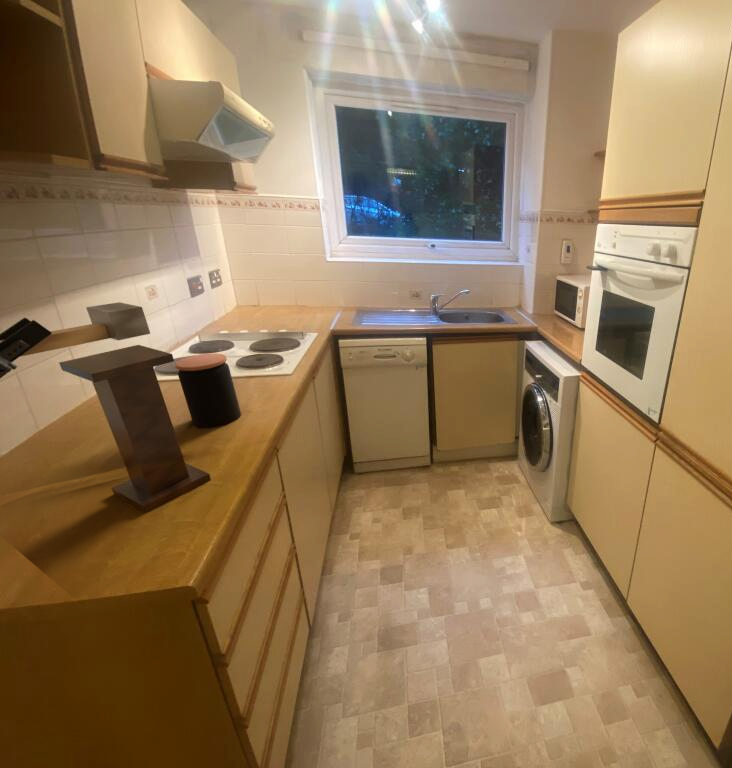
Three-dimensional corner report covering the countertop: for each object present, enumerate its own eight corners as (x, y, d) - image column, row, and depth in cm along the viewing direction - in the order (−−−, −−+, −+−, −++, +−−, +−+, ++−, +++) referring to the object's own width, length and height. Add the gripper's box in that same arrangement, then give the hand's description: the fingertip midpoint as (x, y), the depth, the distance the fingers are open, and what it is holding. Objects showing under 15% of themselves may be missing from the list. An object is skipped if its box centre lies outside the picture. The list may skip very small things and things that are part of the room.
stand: (145, 512, 82) (91, 374, 71) (113, 494, 87) (58, 362, 76) (211, 479, 91) (172, 353, 81) (179, 464, 96) (138, 344, 86)
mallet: (-17, 368, 62) (-33, 335, 60) (-36, 359, 66) (-52, 327, 64) (150, 333, 80) (142, 306, 78) (128, 328, 83) (119, 302, 81)
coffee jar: (249, 413, 120) (233, 352, 113) (232, 432, 110) (214, 366, 103) (206, 416, 118) (188, 354, 111) (186, 435, 108) (165, 368, 102)
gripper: (-161, 446, 51) (34, 313, 63) (-188, 417, 58) (-7, 302, 70) (-82, 476, 57) (83, 348, 69) (-115, 446, 63) (41, 335, 75)
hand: (38, 325), depth 69 cm, fingers closed on mallet, 2 cm apart
